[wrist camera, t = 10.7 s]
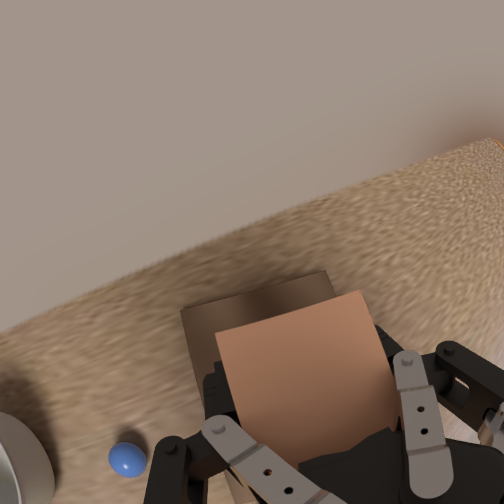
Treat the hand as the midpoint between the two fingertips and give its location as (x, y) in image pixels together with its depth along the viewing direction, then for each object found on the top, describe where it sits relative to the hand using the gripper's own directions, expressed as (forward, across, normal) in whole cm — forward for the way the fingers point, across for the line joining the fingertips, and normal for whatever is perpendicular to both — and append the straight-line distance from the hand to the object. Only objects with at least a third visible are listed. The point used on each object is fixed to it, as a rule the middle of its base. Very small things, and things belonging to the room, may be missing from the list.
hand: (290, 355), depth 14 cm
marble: (+3, +13, +9) cm, 16 cm away
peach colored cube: (+2, 0, +5) cm, 5 cm away
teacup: (+1, +27, +11) cm, 29 cm away
